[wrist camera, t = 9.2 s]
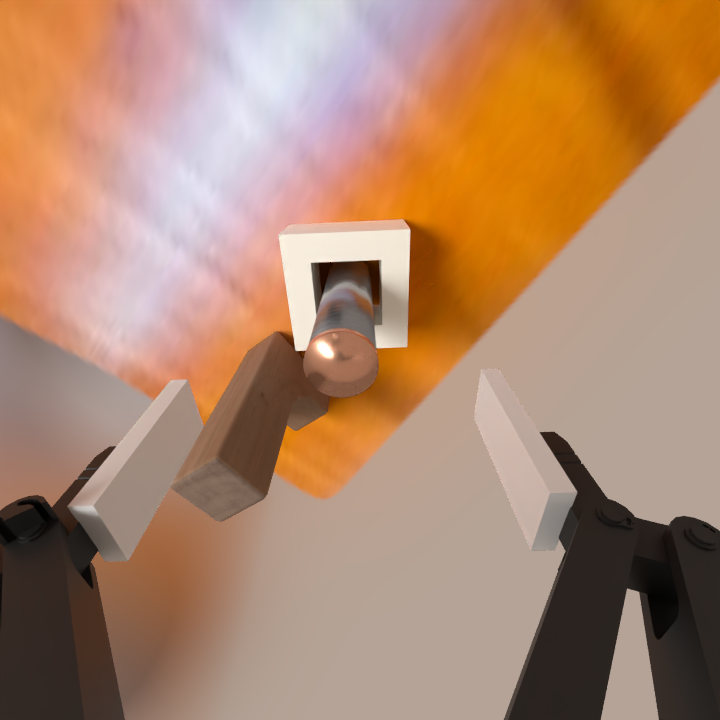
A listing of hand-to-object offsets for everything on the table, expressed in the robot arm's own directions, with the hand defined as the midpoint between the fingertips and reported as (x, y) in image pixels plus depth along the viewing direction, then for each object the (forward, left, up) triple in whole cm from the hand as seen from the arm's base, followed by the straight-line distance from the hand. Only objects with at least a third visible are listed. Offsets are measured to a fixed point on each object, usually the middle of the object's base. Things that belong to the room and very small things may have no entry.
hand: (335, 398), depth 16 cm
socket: (0, 0, -20) cm, 20 cm away
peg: (0, 0, -20) cm, 20 cm away
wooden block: (+10, -7, -20) cm, 24 cm away
